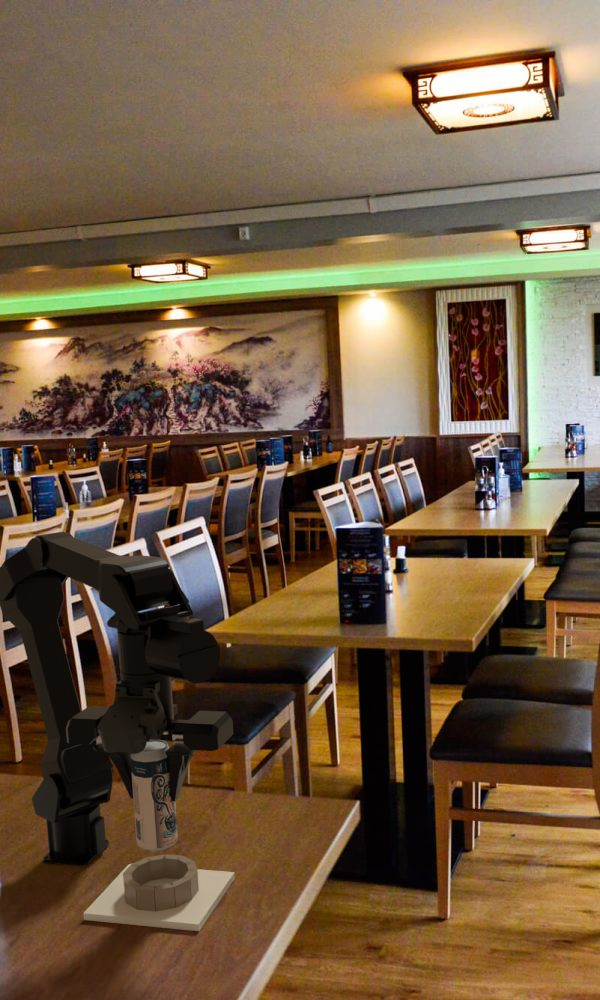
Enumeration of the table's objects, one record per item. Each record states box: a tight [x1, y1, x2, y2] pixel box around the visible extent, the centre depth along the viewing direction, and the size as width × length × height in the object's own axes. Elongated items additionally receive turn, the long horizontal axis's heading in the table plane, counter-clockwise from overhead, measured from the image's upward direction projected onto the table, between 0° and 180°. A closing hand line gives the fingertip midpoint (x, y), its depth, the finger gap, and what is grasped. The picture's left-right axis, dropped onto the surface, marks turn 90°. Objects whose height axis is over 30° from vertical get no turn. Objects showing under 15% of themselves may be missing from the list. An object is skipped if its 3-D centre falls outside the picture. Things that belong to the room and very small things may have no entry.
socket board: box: [83, 854, 236, 932], centre depth 114 cm, size 14×12×3 cm
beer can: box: [130, 739, 179, 852], centre depth 113 cm, size 5×5×12 cm
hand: (154, 798), depth 113 cm, fingers closed on beer can, 5 cm apart
